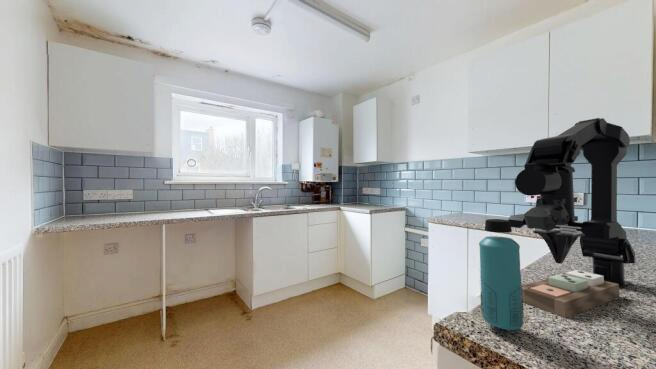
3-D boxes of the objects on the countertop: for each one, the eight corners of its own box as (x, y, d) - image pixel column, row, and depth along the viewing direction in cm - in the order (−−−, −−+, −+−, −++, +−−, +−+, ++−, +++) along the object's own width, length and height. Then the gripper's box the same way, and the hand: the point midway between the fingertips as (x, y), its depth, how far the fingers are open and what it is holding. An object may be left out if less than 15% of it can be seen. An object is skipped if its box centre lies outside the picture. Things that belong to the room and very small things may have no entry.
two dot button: (577, 280, 66) (576, 269, 66) (604, 286, 61) (603, 275, 62) (565, 283, 64) (565, 272, 64) (592, 290, 60) (592, 278, 60)
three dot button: (561, 284, 63) (560, 273, 63) (588, 291, 59) (587, 280, 59) (548, 288, 61) (548, 276, 61) (575, 295, 57) (575, 283, 57)
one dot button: (543, 295, 61) (543, 283, 61) (570, 303, 56) (570, 291, 56) (530, 299, 59) (530, 287, 59) (557, 308, 54) (556, 295, 54)
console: (570, 284, 68) (570, 272, 69) (619, 297, 60) (619, 284, 60) (516, 300, 60) (516, 286, 60) (565, 317, 52) (564, 302, 52)
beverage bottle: (532, 341, 44) (528, 221, 44) (488, 337, 45) (485, 221, 46) (513, 321, 51) (510, 217, 51) (475, 319, 52) (472, 217, 52)
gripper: (491, 194, 65) (494, 258, 64) (592, 196, 47) (596, 283, 47) (520, 192, 69) (523, 252, 69) (621, 193, 52) (625, 272, 52)
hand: (559, 263), depth 59 cm, fingers closed
